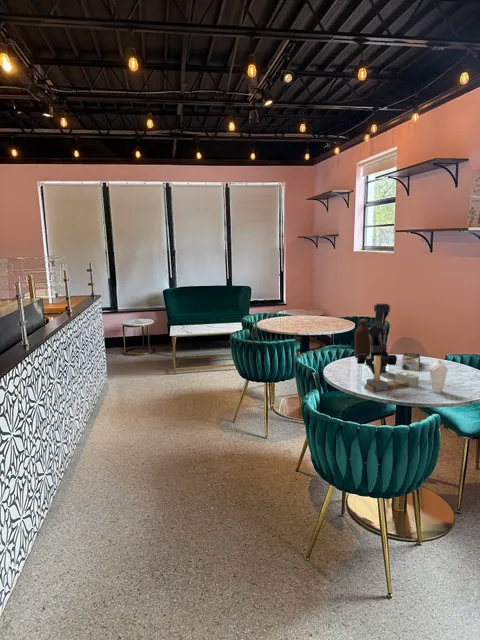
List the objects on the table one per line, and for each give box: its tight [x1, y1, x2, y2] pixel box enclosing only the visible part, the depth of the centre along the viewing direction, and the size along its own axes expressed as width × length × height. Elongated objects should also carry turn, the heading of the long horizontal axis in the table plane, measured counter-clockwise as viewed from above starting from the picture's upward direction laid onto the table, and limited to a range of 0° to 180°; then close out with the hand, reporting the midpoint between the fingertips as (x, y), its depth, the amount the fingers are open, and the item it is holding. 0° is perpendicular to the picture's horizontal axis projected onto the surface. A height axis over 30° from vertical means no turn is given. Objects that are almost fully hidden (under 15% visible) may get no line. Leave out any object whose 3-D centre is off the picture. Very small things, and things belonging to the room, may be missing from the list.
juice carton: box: [400, 352, 421, 371], centre depth 251 cm, size 20×10×6 cm, turn 156°
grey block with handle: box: [365, 355, 387, 392], centre depth 208 cm, size 6×8×16 cm
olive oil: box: [353, 318, 371, 359], centre depth 272 cm, size 11×11×25 cm
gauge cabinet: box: [396, 371, 420, 388], centre depth 216 cm, size 5×10×6 cm, turn 20°
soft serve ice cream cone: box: [428, 358, 449, 394], centre depth 202 cm, size 8×8×16 cm
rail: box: [364, 379, 409, 393], centre depth 211 cm, size 22×6×2 cm, turn 110°
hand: (377, 374), depth 207 cm, fingers closed on grey block with handle, 3 cm apart
